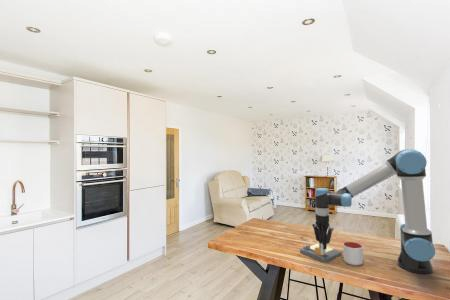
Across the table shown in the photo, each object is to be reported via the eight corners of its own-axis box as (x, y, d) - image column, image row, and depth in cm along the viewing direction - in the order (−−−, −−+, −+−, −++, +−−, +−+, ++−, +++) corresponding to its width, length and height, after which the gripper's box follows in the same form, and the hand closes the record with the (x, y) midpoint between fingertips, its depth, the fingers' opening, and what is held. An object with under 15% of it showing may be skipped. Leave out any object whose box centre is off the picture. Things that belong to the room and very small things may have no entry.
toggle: (323, 255, 146) (323, 248, 146) (320, 256, 145) (320, 249, 145) (317, 253, 150) (317, 246, 150) (314, 254, 148) (314, 247, 148)
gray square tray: (341, 255, 151) (341, 247, 151) (325, 263, 141) (325, 254, 141) (316, 246, 165) (316, 238, 165) (299, 252, 156) (299, 244, 156)
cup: (365, 266, 135) (365, 248, 135) (346, 265, 137) (345, 247, 137) (359, 259, 145) (359, 242, 145) (341, 258, 147) (341, 241, 147)
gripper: (336, 215, 142) (337, 256, 141) (316, 211, 152) (317, 249, 152) (328, 217, 137) (329, 259, 137) (308, 213, 148) (309, 252, 148)
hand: (323, 254), depth 145 cm, fingers closed
